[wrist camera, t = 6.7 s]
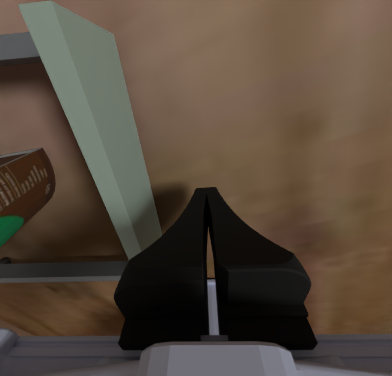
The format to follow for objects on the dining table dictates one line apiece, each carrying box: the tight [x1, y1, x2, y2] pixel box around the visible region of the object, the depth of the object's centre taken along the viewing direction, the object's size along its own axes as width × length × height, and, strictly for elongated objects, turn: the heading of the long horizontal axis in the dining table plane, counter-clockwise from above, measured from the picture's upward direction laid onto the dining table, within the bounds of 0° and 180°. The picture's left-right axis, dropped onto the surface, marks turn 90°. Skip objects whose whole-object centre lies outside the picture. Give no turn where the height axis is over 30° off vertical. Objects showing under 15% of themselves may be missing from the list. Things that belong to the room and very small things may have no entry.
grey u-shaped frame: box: [0, 1, 162, 283], centre depth 12 cm, size 18×19×5 cm
